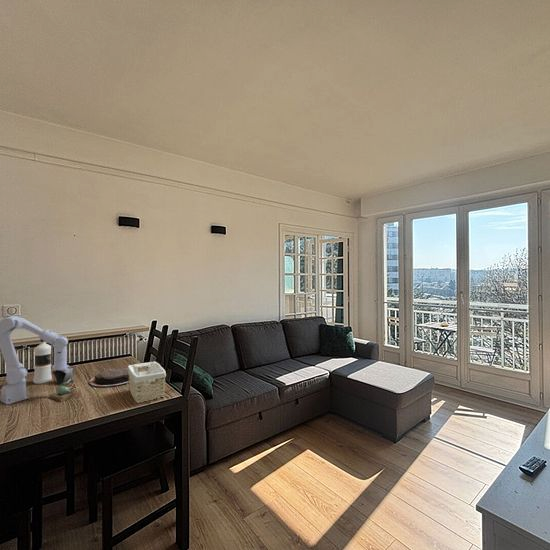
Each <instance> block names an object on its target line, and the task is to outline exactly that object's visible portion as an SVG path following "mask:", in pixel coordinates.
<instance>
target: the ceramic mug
mask: <svg viewBox="0 0 550 550" xmlns="http://www.w3.org/2000/svg"><path fill="white" fill-rule="evenodd" d="M74 379H75V372H74V368H73V367H71V368H69V372H68V373H67V374H66V376H65V378H64V382H63V384H60V386H65V385H67V384H69V383H70V382H73V381H74Z"/></svg>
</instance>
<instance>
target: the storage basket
mask: <svg viewBox="0 0 550 550" xmlns="http://www.w3.org/2000/svg"><path fill="white" fill-rule="evenodd" d="M127 368H128V374H129V383H128V385H129V391H130V394H131V396H132V398H133V399H134V401H135V402H136V404H140V402H141V403H145V402H144V401H146V402H149V401H148V400H151V401H153V400H152V399H155V398H159V397H161V396H164V397H165V391H166V390H165V389H166V377H167V373H166V370H165V369H164V367H162V366H161V364H160V363H158V362H157V361H149V362H143V363H135V364H129V365H128V366H127ZM145 368H147V369H148V370H143V371H139V369H145Z"/></svg>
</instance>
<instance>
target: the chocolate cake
mask: <svg viewBox="0 0 550 550" xmlns="http://www.w3.org/2000/svg"><path fill="white" fill-rule="evenodd" d="M127 383H128V384H129V374H128V367H126V368H125V367H114V368H109V369H106V370H102V371H100V372H98V373H97V374H95V375H94V376H93V377H92V378H91V379H90V380H89V385H91V386H92V387H102V388H111V387H112V388H113V387H114V388H115V387H120V386H122V385H127Z"/></svg>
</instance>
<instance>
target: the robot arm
mask: <svg viewBox="0 0 550 550" xmlns="http://www.w3.org/2000/svg"><path fill="white" fill-rule="evenodd" d="M16 329H17V330H18V329H25V330H26V331H29V332H30V333H33V334H36V335H37V336H38V337H39V340H41V339H42V340H44V341H46V343H47V344H49V345H52V347H53V348H54V352H53V353H54V355H53V356H54V357H53V358H54V359H53V360H54V361H53V365H52V364H51V370H54V371H53V372H52V373H53V375H54V377H55V379H56V383H57V385H61V384H63V383H64V378H65V376H66V374H67V373H68V372H69V369H70V368H69V367H70V365H69V364H67V363H68V362H67V361H68V348H67V345H68V343H69V339H68V338H67V336H65V335H64V336H63V335H61V334H57V333H56V332H53V331H54V330H52V329H42V328H41V327H39V326H37V325H36V324H34V323H32V322H30V321H28V319H26V318H24V317H21V316H19V315H11V316H7V317H4V318H2V319H1V320H0V352H1V355H2V358H3V360H4V362H5V366H6V369H5V374H6V378H5V381H6V383H7V384H5V385H3V386H2V387H1V388H0V389H1V394H0V395H1V396H0V397H1V398H0V402H2V403H4V404H6V405H10V404H13V403H17V402H20V401H21V402H22V401H24V400H28V399H30V397H29V396H27V395H26V394H27V380H26V377H27V376H28V373H29V372H28V369H26V368H25V367H24V365H23V364H22V363H21V362H20V360H19V357H18V354H17V350H16V348H15V346H14V344H13V341H12V338H11V334H12V332H14V330H16Z"/></svg>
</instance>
